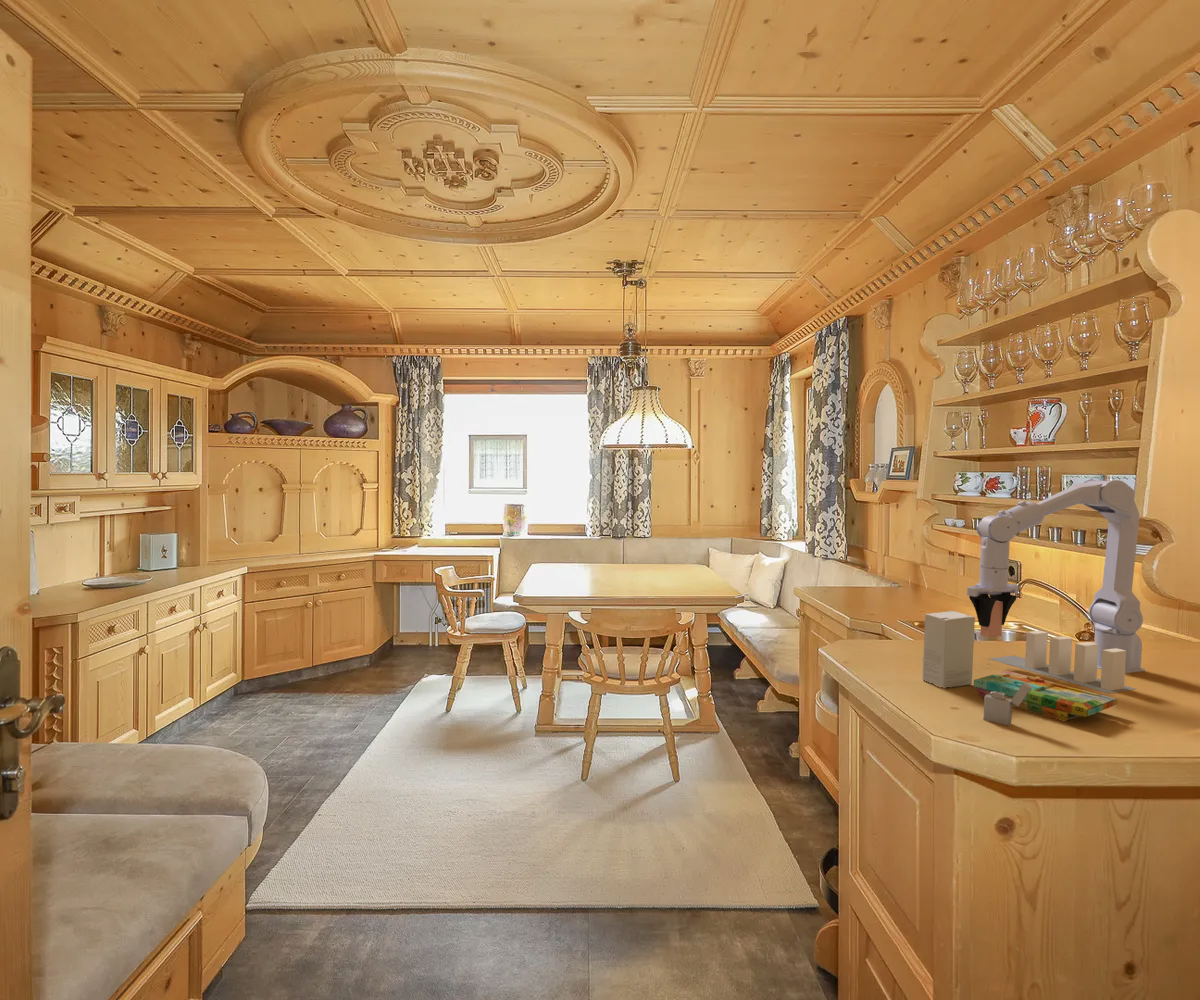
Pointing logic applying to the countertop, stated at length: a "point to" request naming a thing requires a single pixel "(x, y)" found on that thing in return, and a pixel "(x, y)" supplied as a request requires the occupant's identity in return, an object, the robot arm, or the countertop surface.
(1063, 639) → the domino
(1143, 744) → the countertop surface
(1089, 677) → the domino
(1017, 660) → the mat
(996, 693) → the lighter
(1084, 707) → the puzzle game
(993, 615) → the domino
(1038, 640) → the domino
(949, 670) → the skincare box
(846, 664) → the countertop surface
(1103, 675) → the domino
